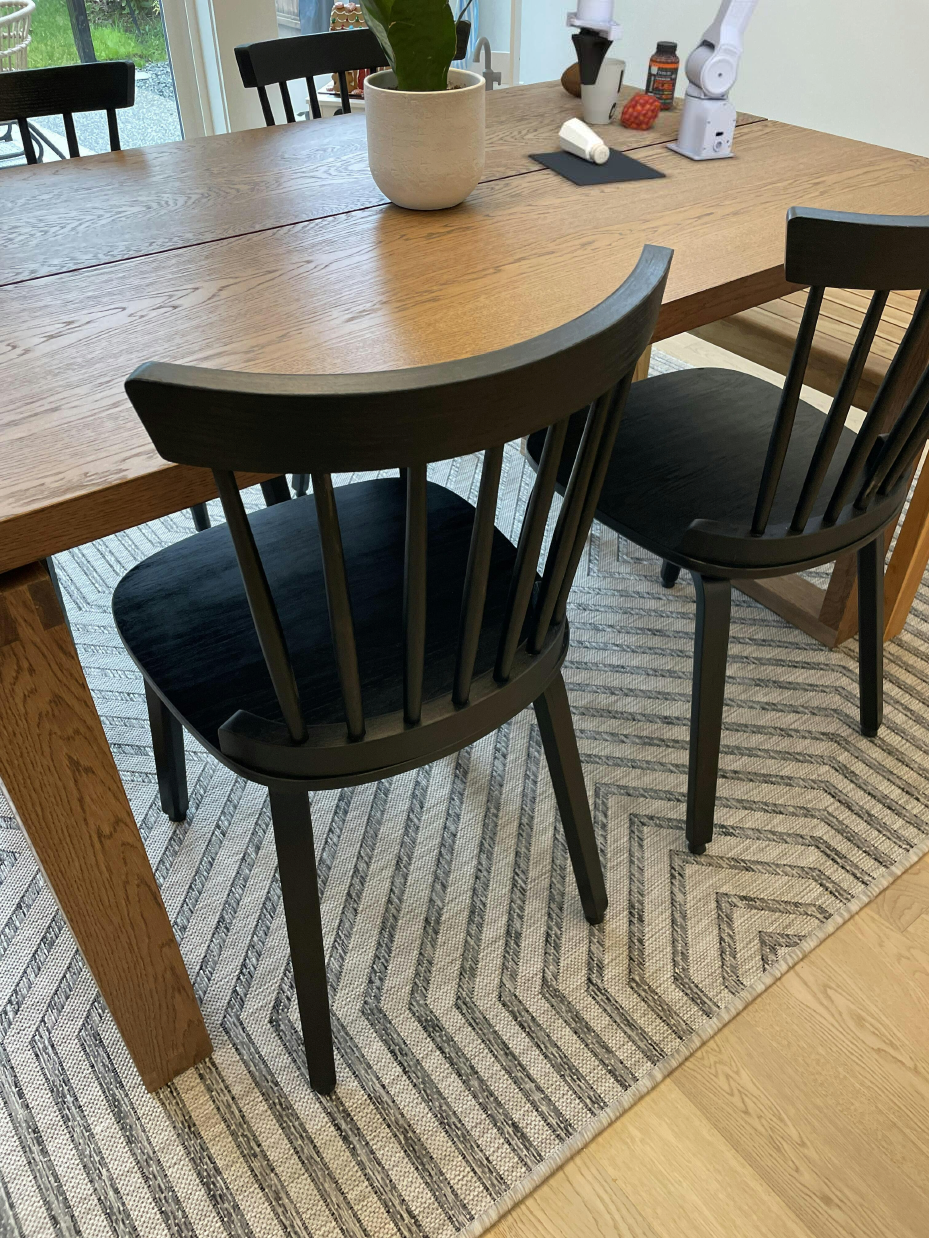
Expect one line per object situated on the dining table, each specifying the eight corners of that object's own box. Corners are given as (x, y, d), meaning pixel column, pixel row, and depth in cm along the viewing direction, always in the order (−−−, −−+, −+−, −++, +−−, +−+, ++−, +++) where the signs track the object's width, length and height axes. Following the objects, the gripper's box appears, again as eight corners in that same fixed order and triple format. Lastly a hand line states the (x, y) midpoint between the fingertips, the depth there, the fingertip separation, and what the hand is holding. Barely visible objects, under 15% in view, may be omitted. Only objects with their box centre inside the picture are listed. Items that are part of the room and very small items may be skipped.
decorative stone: (625, 136, 177) (666, 121, 174) (622, 139, 172) (665, 123, 169) (616, 101, 175) (658, 84, 172) (613, 102, 169) (656, 85, 166)
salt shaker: (554, 151, 158) (584, 172, 151) (561, 116, 154) (591, 136, 147) (581, 152, 160) (612, 173, 153) (588, 118, 156) (620, 138, 149)
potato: (618, 99, 192) (622, 60, 188) (571, 103, 188) (575, 64, 184) (600, 92, 197) (604, 55, 192) (554, 96, 193) (557, 58, 188)
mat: (665, 177, 149) (666, 175, 148) (578, 186, 144) (578, 184, 143) (610, 149, 161) (610, 147, 161) (528, 156, 156) (528, 154, 156)
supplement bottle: (650, 111, 184) (659, 45, 177) (638, 104, 189) (646, 40, 181) (677, 110, 186) (687, 45, 178) (664, 103, 190) (674, 39, 183)
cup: (619, 127, 174) (627, 67, 167) (576, 125, 174) (583, 64, 167) (616, 117, 180) (624, 58, 173) (575, 115, 180) (581, 56, 173)
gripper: (553, -20, 147) (546, 77, 156) (598, -8, 137) (588, 95, 146) (591, -21, 150) (582, 74, 158) (638, -9, 140) (626, 92, 148)
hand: (588, 84), depth 152 cm, fingers closed
